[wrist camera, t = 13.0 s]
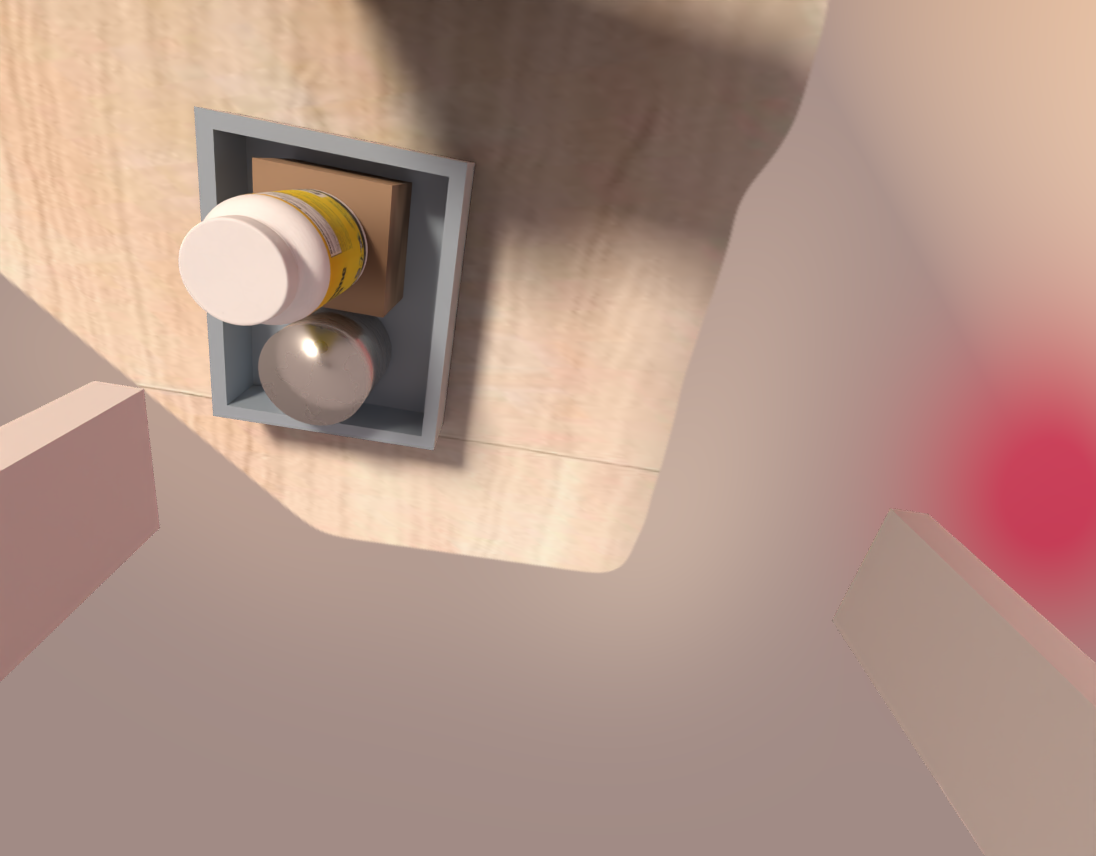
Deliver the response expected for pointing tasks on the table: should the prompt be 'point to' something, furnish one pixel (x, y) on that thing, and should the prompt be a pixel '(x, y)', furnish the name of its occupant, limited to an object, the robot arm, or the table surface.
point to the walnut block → (378, 212)
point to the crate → (412, 324)
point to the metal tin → (324, 365)
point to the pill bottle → (272, 256)
